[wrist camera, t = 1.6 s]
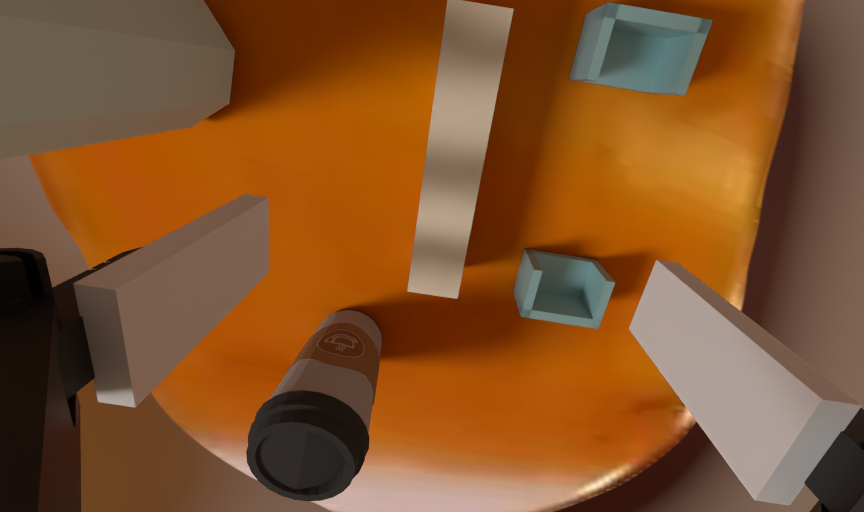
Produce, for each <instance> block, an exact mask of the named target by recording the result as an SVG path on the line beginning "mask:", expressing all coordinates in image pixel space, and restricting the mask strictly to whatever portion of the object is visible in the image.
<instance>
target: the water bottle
mask: <svg viewBox="0 0 864 512" xmlns="http://www.w3.org/2000/svg"><path fill="white" fill-rule="evenodd" d="M234 58H235V50H234V48H233V46H232V45H231V43H230V42H229V40H228V38H227V37H226V35H225V34H224V32H223V30H222V29H221V27H220V26H219V24H218V22H217V21H216V19H215V18H214V16H213V14H212V13H211V11H210V9H209V8H208V6H207V5H206V3H205V1H204V0H0V160H1V159H7V158H13V157H18V156H24V155H31V154H37V153H43V152H48V151H54V150H60V149H66V148H72V147H78V146H84V145H90V144H96V143H102V142H107V141H113V140H119V139H125V138H131V137H137V136H143V135H149V134H155V133H161V132H166V131H172V130H178V129H184V128H190V127H193V126H194V125H196V124H198V123H199V122H201V121H202V120H204V119H206V118H207V117H209V116H210V115H212V114H214V113H215V112H217V111H218V110H220V109H222V108H223V107H225V106H226V105H228V104H229V103H230V94H231V85H232V76H233V67H234Z"/></svg>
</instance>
